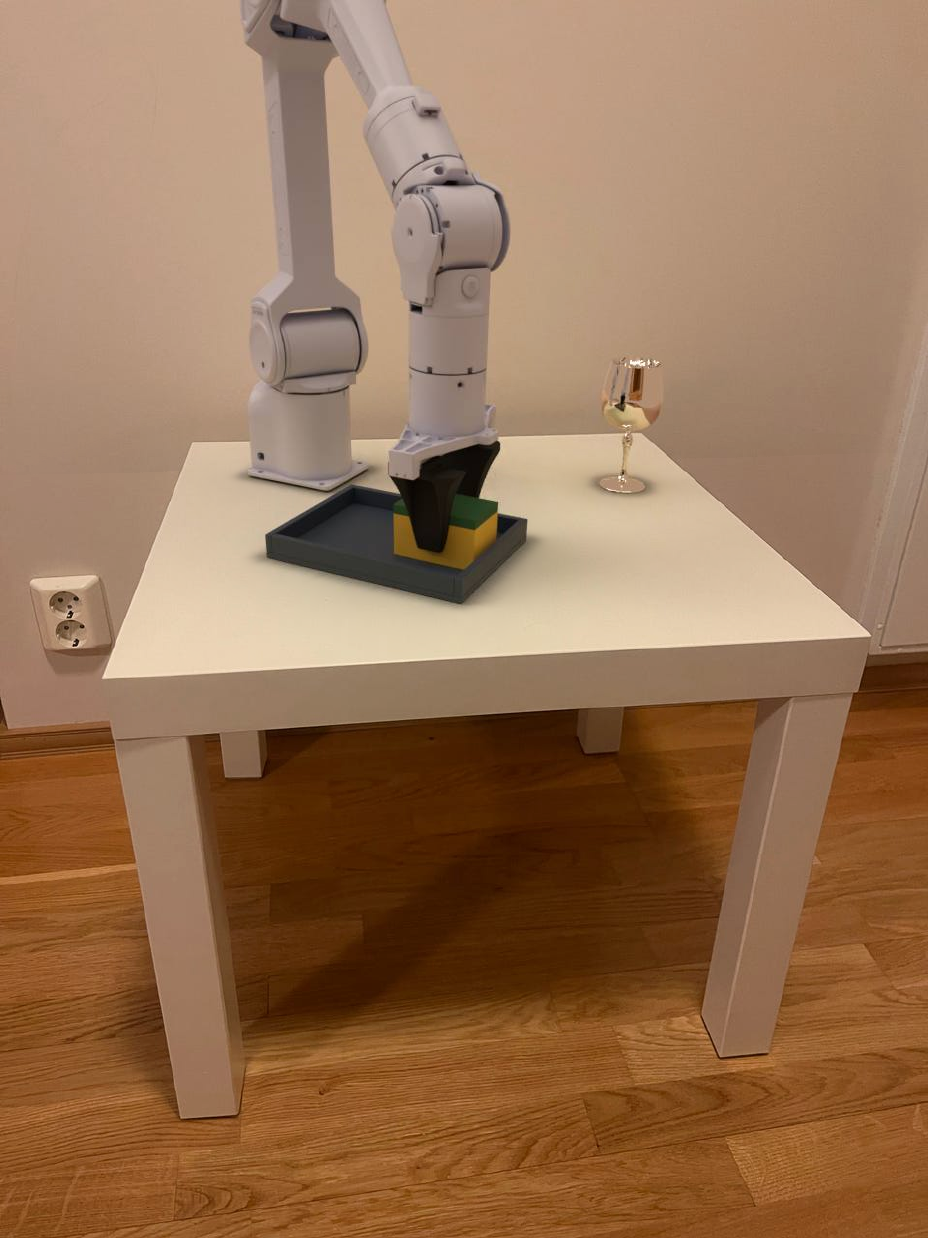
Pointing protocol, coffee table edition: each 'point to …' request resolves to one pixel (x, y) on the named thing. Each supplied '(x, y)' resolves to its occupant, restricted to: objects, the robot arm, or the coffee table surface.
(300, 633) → the coffee table surface
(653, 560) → the coffee table surface
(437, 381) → the robot arm
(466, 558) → the sponge
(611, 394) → the wineglass
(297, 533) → the tray
